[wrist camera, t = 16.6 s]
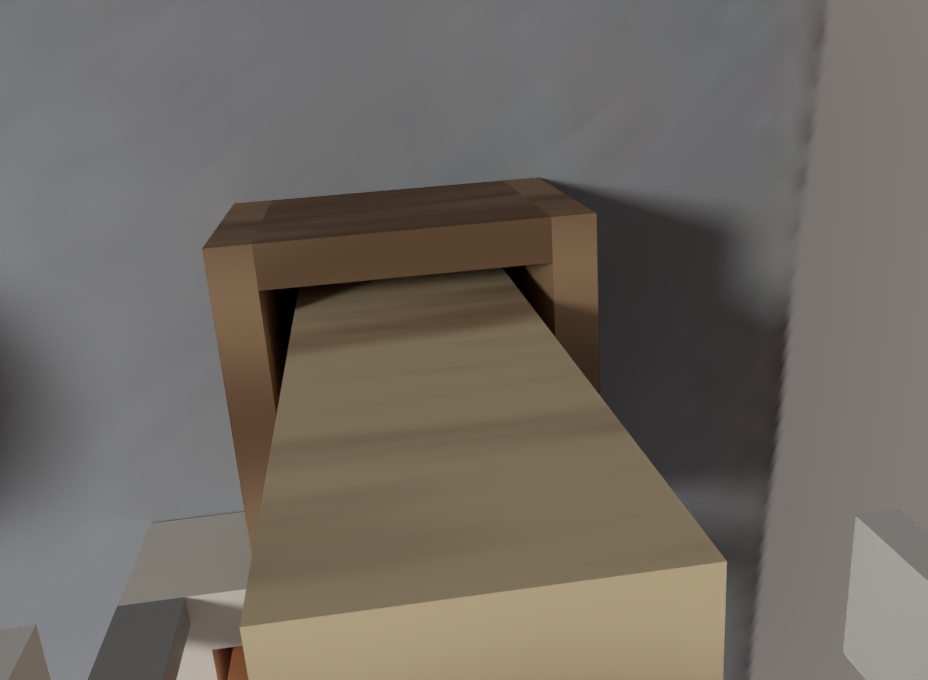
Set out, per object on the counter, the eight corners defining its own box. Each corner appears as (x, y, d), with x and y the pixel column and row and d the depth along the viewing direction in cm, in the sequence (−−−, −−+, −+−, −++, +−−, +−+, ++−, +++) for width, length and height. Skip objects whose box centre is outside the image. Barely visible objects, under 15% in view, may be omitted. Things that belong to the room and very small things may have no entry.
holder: (234, 204, 28) (202, 248, 22) (538, 177, 30) (596, 213, 23) (275, 482, 32) (258, 595, 25) (549, 450, 33) (602, 550, 26)
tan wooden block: (303, 258, 29) (239, 627, 10) (482, 242, 30) (726, 561, 11) (324, 425, 31) (301, 991, 12) (492, 405, 32) (715, 917, 13)
